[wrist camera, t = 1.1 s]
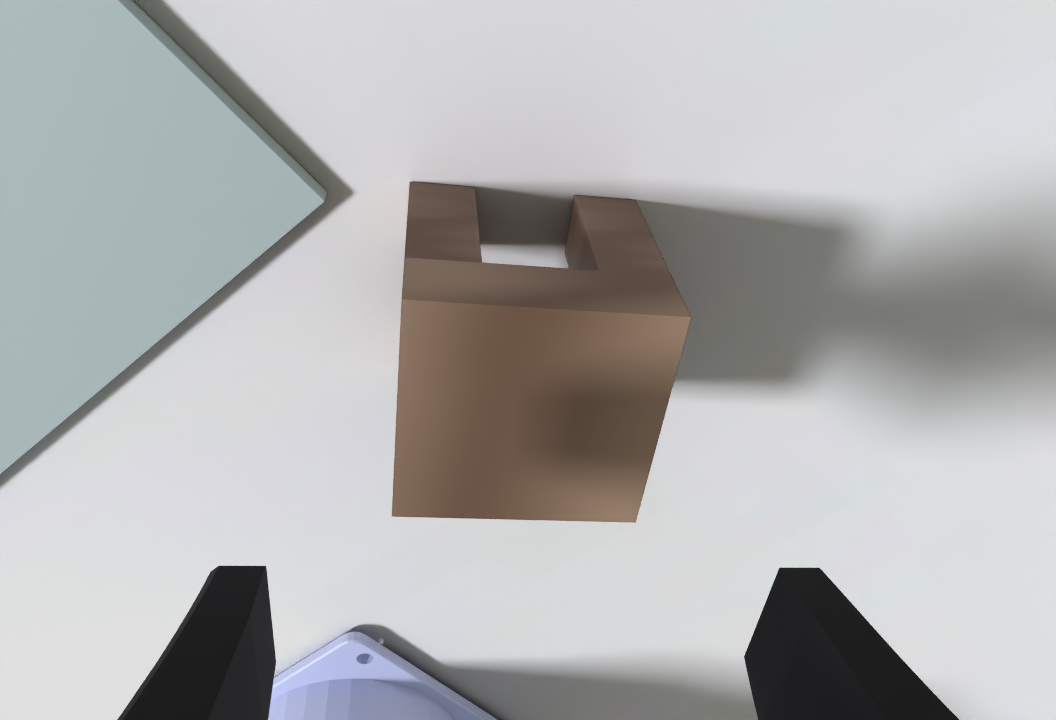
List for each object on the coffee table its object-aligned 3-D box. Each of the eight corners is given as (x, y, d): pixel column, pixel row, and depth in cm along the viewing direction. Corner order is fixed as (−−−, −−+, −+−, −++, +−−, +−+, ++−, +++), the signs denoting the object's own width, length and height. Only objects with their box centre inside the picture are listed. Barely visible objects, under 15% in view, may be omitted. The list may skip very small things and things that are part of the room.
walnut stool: (635, 199, 19) (690, 317, 15) (597, 381, 21) (635, 522, 17) (409, 181, 18) (401, 299, 14) (401, 371, 21) (391, 516, 17)
